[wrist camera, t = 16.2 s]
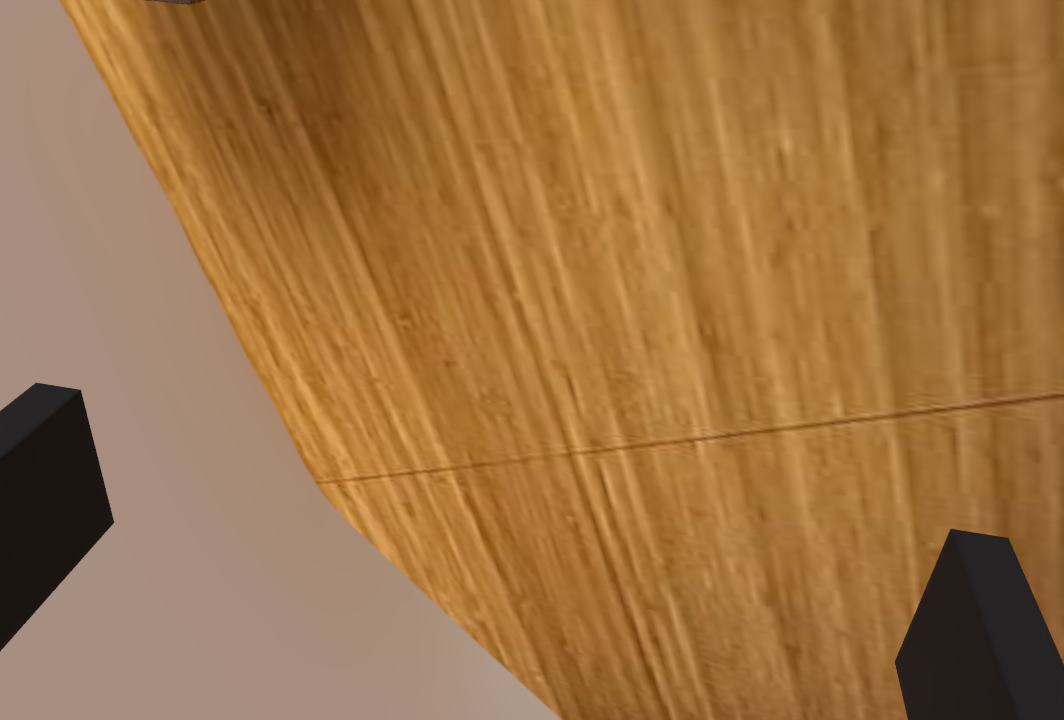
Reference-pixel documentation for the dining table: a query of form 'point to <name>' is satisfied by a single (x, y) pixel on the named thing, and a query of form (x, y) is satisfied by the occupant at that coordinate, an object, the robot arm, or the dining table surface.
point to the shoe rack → (179, 1)
